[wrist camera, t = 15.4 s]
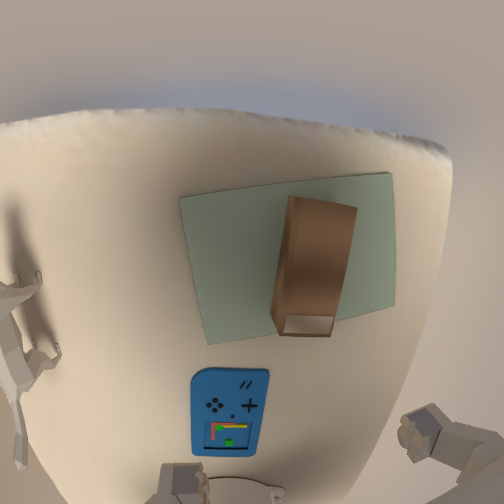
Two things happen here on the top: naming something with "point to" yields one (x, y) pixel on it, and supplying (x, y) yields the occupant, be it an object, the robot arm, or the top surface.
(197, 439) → the handheld gaming device
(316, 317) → the walnut block
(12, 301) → the cat figurine
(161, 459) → the top surface
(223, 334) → the rubber mat
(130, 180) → the top surface
